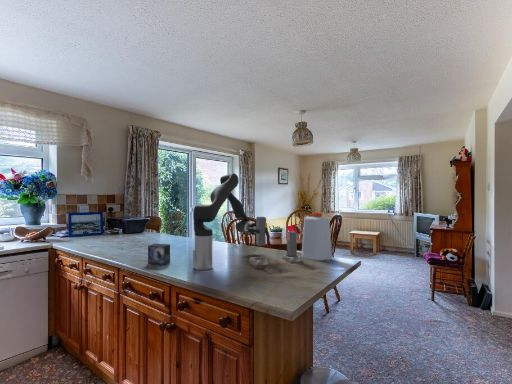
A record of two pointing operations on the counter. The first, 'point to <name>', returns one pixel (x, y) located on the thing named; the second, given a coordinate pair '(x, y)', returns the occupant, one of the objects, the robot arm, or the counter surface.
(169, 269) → the counter surface
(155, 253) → the small box
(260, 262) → the wooden base with sockets
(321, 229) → the grey bottle
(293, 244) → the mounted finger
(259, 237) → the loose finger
